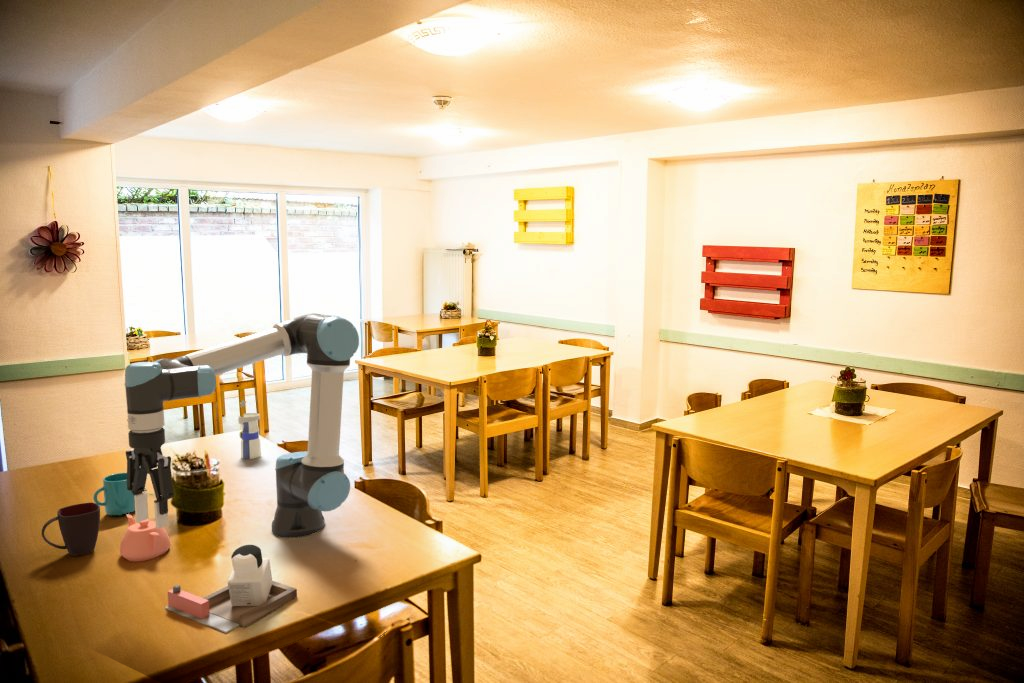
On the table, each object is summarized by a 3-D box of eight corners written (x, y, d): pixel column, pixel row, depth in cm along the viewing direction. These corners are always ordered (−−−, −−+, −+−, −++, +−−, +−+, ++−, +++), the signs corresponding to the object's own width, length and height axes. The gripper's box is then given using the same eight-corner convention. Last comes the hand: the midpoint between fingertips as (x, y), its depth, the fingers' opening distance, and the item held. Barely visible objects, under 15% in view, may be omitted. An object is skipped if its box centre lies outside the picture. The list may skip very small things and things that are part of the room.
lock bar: (168, 605, 166) (167, 586, 165) (176, 601, 168) (174, 582, 167) (201, 618, 160) (201, 599, 160) (209, 614, 162) (208, 595, 161)
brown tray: (165, 608, 165) (164, 598, 165) (233, 576, 182) (232, 567, 181) (231, 635, 154) (230, 624, 154) (297, 598, 171) (296, 588, 170)
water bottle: (234, 465, 272) (232, 402, 269) (246, 459, 281) (244, 397, 278) (254, 467, 271) (252, 403, 268) (266, 460, 280) (263, 398, 276)
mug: (106, 552, 195) (103, 510, 194) (46, 566, 186) (43, 522, 185) (98, 540, 203) (95, 500, 201) (40, 553, 194) (37, 512, 192)
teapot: (136, 569, 185) (134, 535, 184) (107, 550, 196) (105, 518, 195) (182, 554, 195) (180, 521, 193) (151, 537, 206) (149, 505, 204)
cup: (91, 512, 224) (89, 478, 222) (133, 503, 232) (131, 470, 230) (98, 521, 217) (95, 485, 216) (140, 511, 225) (138, 477, 224)
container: (240, 583, 172) (233, 540, 167) (273, 582, 173) (267, 540, 168) (231, 607, 165) (223, 563, 160) (264, 606, 166) (258, 563, 161)
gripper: (105, 426, 166) (111, 520, 169) (158, 438, 156) (163, 537, 159) (135, 420, 172) (141, 510, 175) (188, 431, 163) (193, 526, 166)
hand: (152, 523), depth 167 cm, fingers open, 7 cm apart
